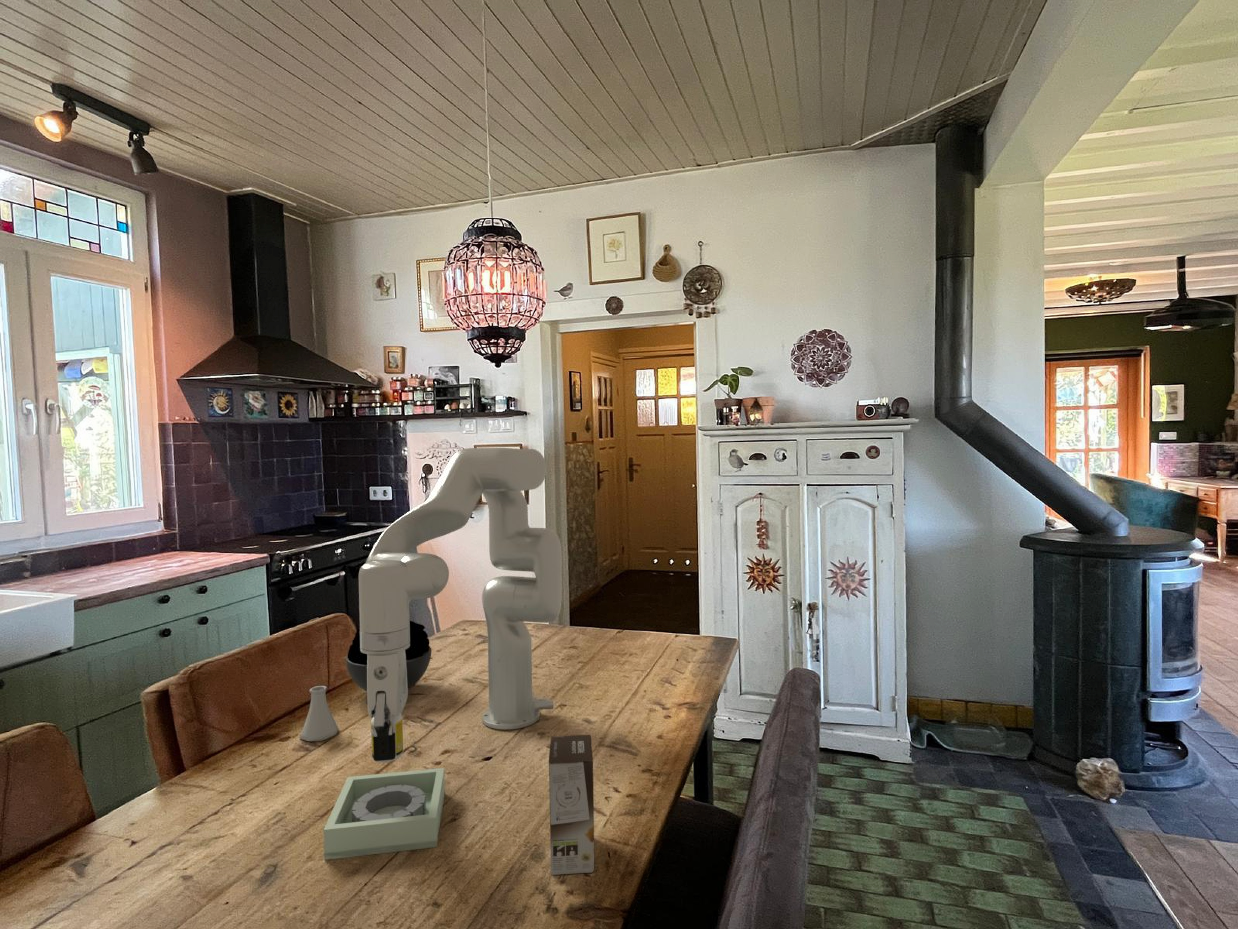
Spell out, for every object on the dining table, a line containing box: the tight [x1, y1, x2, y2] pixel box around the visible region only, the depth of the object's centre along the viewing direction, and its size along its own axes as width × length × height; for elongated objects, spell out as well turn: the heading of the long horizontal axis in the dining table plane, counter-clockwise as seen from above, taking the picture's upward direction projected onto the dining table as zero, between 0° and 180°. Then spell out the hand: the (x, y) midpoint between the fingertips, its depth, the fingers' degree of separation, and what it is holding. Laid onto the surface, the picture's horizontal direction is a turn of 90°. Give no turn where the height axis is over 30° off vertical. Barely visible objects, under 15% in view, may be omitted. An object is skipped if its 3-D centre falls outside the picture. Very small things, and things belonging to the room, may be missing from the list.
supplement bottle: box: [370, 710, 404, 764], centre depth 108 cm, size 5×5×8 cm
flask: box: [299, 685, 339, 742], centre depth 142 cm, size 7×7×10 cm
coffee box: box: [548, 734, 595, 876], centre depth 99 cm, size 9×6×16 cm
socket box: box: [323, 767, 446, 861], centre depth 108 cm, size 16×16×4 cm
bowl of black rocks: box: [345, 620, 432, 692], centre depth 166 cm, size 20×20×19 cm
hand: (387, 750), depth 108 cm, fingers closed on supplement bottle, 4 cm apart
